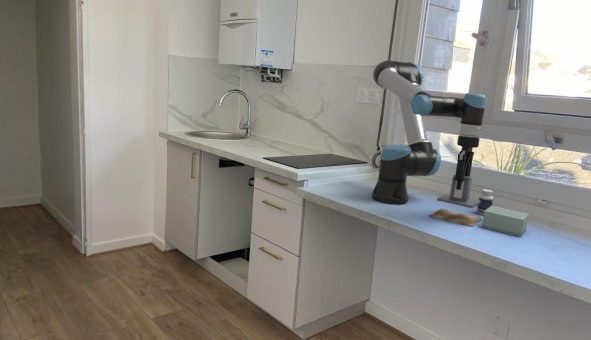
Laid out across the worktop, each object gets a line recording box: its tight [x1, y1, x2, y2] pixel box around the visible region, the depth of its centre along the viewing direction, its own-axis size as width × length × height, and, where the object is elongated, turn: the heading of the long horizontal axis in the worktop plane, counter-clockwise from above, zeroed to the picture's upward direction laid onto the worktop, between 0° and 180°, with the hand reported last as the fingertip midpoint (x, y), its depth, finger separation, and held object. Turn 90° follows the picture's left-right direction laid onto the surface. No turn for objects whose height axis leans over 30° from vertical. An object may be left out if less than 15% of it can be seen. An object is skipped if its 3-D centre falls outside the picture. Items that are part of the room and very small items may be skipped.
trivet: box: [429, 208, 483, 228], centre depth 168 cm, size 16×14×1 cm
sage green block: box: [480, 205, 529, 237], centre depth 160 cm, size 13×11×6 cm
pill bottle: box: [476, 188, 494, 216], centre depth 177 cm, size 5×5×10 cm
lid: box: [436, 174, 480, 209], centre depth 166 cm, size 13×11×10 cm
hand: (459, 196), depth 167 cm, fingers closed on lid, 4 cm apart
